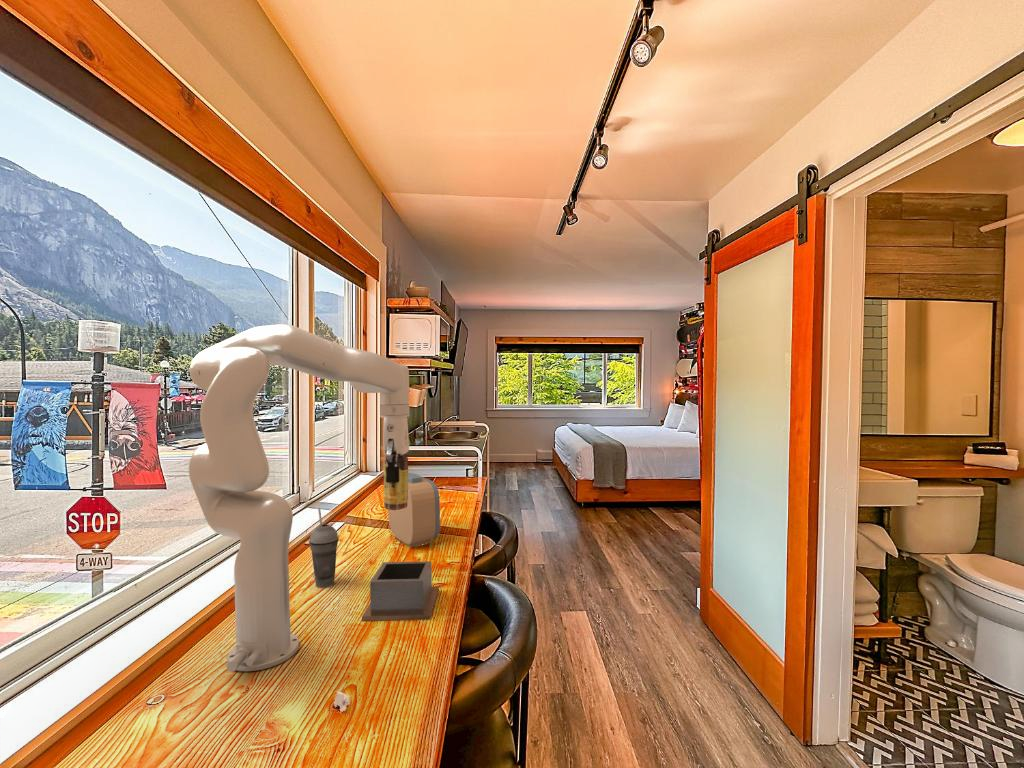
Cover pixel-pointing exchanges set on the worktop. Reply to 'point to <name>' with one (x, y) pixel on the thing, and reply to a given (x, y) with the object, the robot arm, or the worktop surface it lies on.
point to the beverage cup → (324, 553)
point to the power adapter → (342, 701)
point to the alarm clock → (417, 513)
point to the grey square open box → (401, 592)
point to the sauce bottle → (397, 486)
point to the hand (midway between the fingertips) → (395, 479)
